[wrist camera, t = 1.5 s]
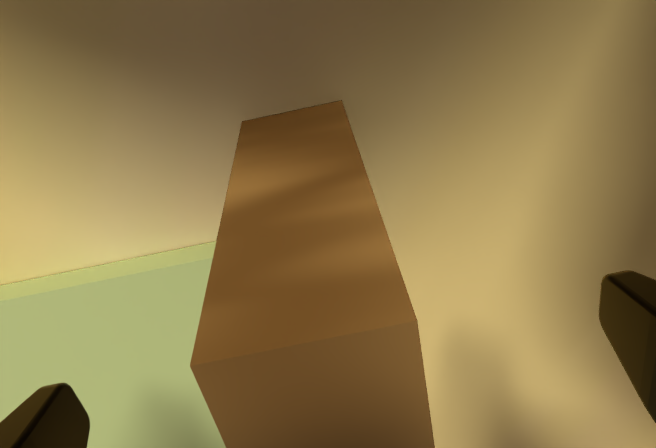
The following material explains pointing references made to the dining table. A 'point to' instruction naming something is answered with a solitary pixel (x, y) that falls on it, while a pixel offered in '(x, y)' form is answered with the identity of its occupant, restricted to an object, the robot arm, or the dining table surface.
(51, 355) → the felt mat
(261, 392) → the walnut slab
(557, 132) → the dining table surface
